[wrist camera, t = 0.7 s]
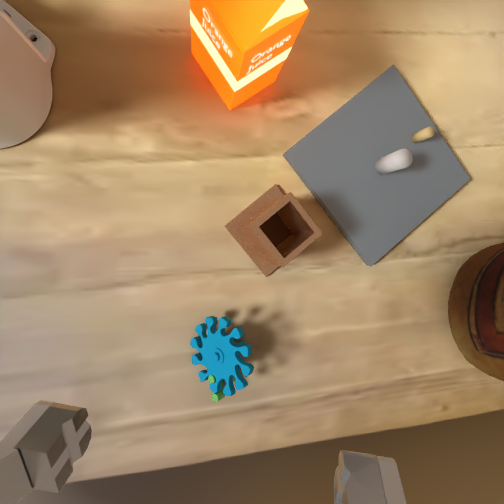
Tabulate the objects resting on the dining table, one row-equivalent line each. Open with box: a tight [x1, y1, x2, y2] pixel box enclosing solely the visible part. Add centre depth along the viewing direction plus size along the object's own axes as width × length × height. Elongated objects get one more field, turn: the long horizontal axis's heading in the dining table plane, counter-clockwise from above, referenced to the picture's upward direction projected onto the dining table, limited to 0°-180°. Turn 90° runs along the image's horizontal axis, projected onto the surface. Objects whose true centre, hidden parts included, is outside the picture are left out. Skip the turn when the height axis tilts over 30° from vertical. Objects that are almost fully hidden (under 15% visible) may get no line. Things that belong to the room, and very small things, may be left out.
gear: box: [190, 316, 254, 402], centre depth 44 cm, size 11×6×10 cm
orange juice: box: [190, 0, 309, 110], centre depth 35 cm, size 8×9×20 cm
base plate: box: [283, 65, 470, 266], centre depth 46 cm, size 20×20×6 cm
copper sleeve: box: [225, 184, 323, 277], centre depth 42 cm, size 9×9×9 cm
